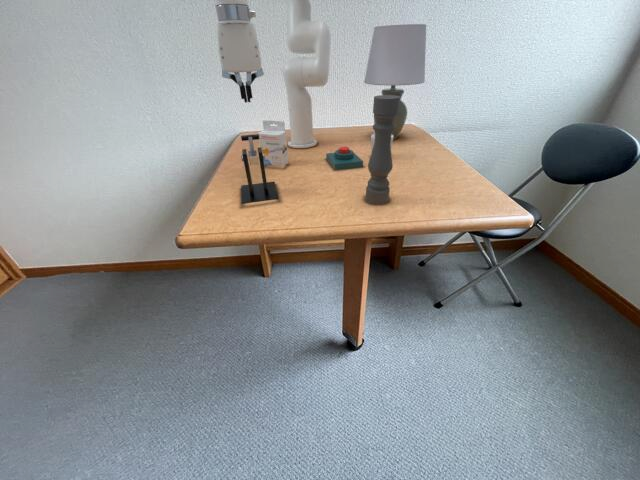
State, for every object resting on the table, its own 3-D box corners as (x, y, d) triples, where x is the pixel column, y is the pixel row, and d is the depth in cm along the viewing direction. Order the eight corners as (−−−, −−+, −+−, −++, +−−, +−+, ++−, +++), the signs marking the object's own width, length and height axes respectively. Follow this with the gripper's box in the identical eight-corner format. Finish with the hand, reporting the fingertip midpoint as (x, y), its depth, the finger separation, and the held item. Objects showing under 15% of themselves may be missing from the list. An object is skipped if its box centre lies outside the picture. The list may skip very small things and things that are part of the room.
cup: (391, 164, 96) (394, 141, 92) (368, 163, 98) (370, 140, 93) (391, 154, 105) (393, 132, 100) (369, 153, 106) (371, 132, 102)
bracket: (241, 189, 83) (232, 146, 76) (274, 185, 85) (269, 142, 78) (242, 207, 74) (231, 160, 66) (279, 202, 75) (273, 155, 68)
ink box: (261, 167, 98) (255, 123, 90) (268, 162, 102) (262, 120, 93) (283, 169, 96) (278, 124, 87) (289, 164, 100) (285, 120, 91)
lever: (242, 140, 80) (240, 133, 78) (259, 139, 81) (258, 131, 79) (244, 165, 73) (243, 157, 71) (263, 163, 73) (262, 155, 72)
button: (337, 152, 98) (337, 147, 97) (347, 151, 99) (347, 146, 98) (340, 155, 95) (340, 150, 94) (350, 154, 96) (350, 149, 95)
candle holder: (363, 195, 77) (369, 95, 63) (384, 193, 78) (396, 94, 63) (368, 205, 72) (376, 99, 58) (391, 203, 73) (405, 98, 58)
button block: (326, 159, 103) (326, 148, 101) (351, 156, 105) (352, 145, 102) (335, 170, 93) (335, 158, 91) (362, 167, 95) (363, 155, 93)
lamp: (375, 128, 139) (383, 28, 116) (422, 134, 127) (442, 24, 104) (351, 140, 123) (355, 27, 100) (402, 148, 111) (420, 22, 88)
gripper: (264, 17, 70) (273, 98, 80) (202, 18, 67) (220, 101, 78) (266, 14, 64) (275, 102, 74) (198, 15, 61) (218, 105, 72)
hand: (247, 101), depth 76 cm, fingers closed
